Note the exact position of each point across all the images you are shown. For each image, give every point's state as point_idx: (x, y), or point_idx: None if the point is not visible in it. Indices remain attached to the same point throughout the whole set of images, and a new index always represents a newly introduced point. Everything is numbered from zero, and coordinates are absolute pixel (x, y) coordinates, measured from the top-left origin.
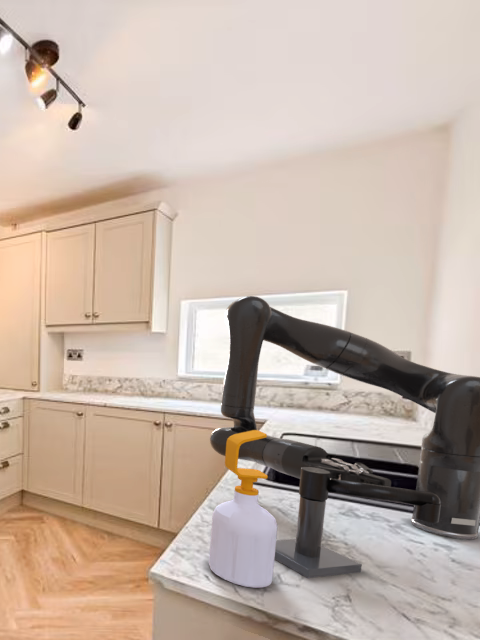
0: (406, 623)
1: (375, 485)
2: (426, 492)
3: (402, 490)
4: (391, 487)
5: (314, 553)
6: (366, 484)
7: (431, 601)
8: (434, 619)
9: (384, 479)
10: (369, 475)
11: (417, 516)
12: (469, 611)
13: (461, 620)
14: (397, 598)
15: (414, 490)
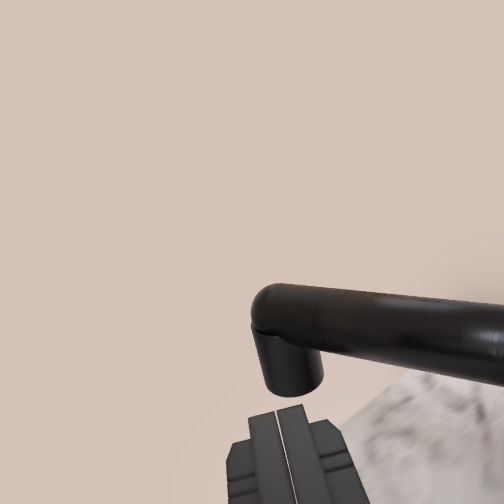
0: (493, 395)
1: (450, 303)
2: (287, 285)
3: (358, 291)
4: (388, 295)
5: None
6: (495, 304)
7: (370, 471)
8: (422, 413)
9: (287, 409)
10: (318, 479)
11: (322, 369)
12: None
13: (367, 417)
14: (451, 473)
15: (315, 289)
